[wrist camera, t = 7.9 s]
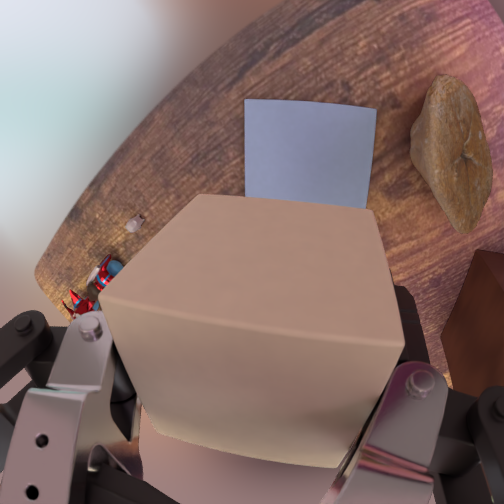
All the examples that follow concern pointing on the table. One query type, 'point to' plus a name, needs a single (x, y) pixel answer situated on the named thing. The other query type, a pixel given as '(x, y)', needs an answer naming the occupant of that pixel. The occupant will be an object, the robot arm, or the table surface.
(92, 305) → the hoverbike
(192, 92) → the table surface
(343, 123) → the blue mat
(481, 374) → the walnut stand
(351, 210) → the cream block
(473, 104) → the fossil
